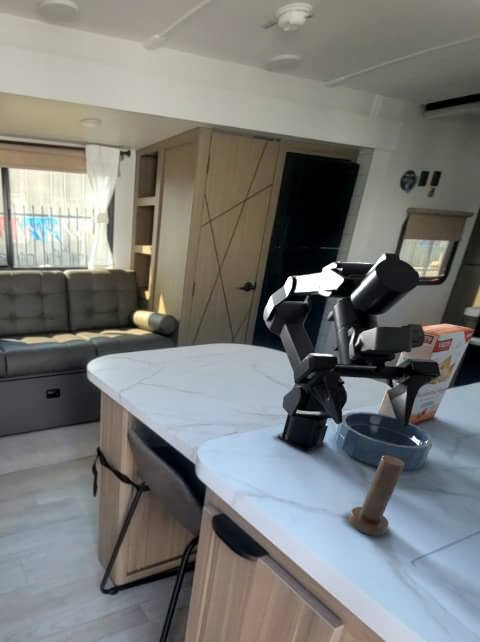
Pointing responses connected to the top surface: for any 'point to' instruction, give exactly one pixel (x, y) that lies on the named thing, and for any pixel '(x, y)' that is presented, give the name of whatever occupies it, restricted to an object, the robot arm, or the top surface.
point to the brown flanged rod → (377, 498)
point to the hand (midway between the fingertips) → (371, 425)
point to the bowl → (382, 439)
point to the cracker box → (446, 350)
